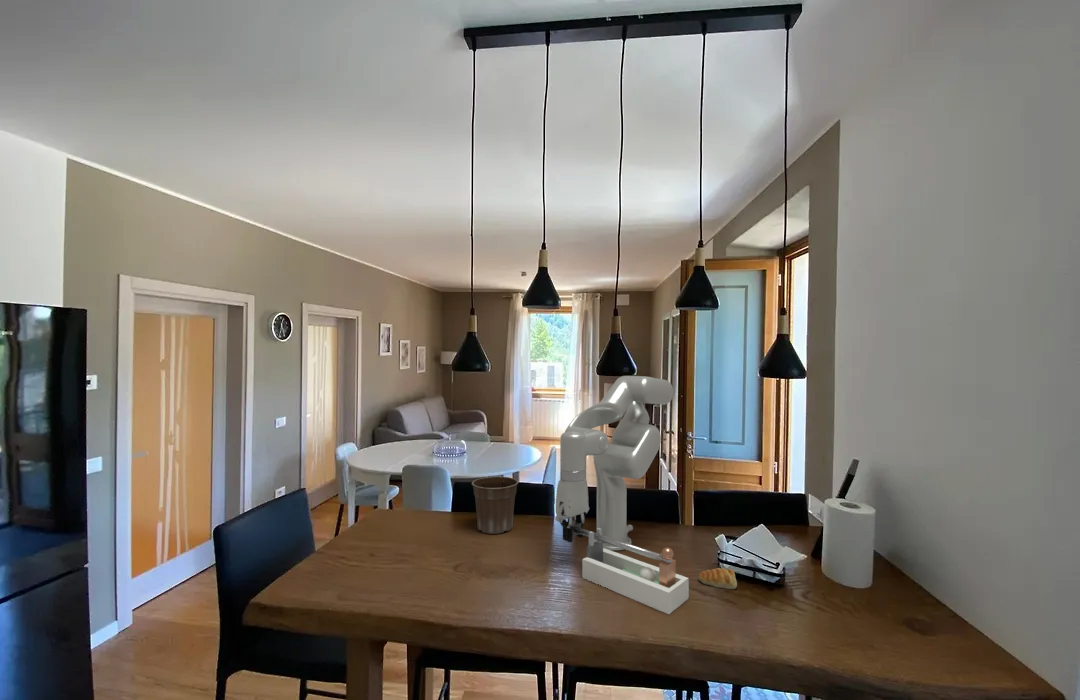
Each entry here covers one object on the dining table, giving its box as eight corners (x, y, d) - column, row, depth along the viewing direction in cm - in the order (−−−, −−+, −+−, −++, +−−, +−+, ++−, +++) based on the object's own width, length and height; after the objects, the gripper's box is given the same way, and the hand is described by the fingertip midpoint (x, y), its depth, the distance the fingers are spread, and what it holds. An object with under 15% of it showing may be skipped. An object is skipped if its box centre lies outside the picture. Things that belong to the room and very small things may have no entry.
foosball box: (604, 565, 131) (604, 525, 131) (688, 598, 113) (688, 551, 113) (582, 577, 124) (582, 534, 124) (668, 614, 106) (668, 564, 106)
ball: (644, 578, 118) (644, 562, 118) (658, 583, 116) (658, 567, 116) (636, 583, 115) (636, 567, 116) (650, 589, 113) (650, 572, 113)
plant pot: (472, 520, 167) (472, 476, 168) (516, 519, 169) (516, 475, 169) (470, 537, 151) (470, 488, 151) (519, 536, 153) (519, 487, 153)
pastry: (700, 588, 119) (700, 573, 119) (696, 576, 126) (696, 562, 126) (739, 591, 117) (739, 576, 117) (732, 578, 124) (732, 564, 124)
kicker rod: (573, 549, 135) (573, 515, 135) (677, 587, 112) (677, 546, 113) (564, 553, 132) (564, 518, 132) (668, 594, 109) (668, 552, 109)
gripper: (581, 468, 142) (580, 527, 141) (543, 478, 130) (543, 543, 129) (600, 472, 136) (600, 534, 136) (564, 483, 124) (563, 551, 124)
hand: (572, 537), depth 133 cm, fingers closed on kicker rod, 4 cm apart
